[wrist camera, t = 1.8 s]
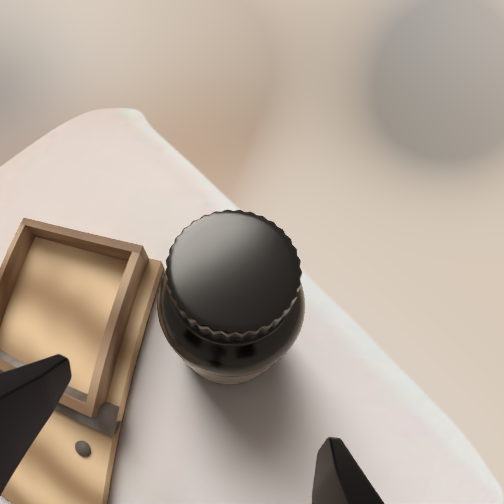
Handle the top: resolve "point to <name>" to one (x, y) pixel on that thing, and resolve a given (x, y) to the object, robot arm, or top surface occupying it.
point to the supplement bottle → (231, 296)
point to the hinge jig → (74, 350)
